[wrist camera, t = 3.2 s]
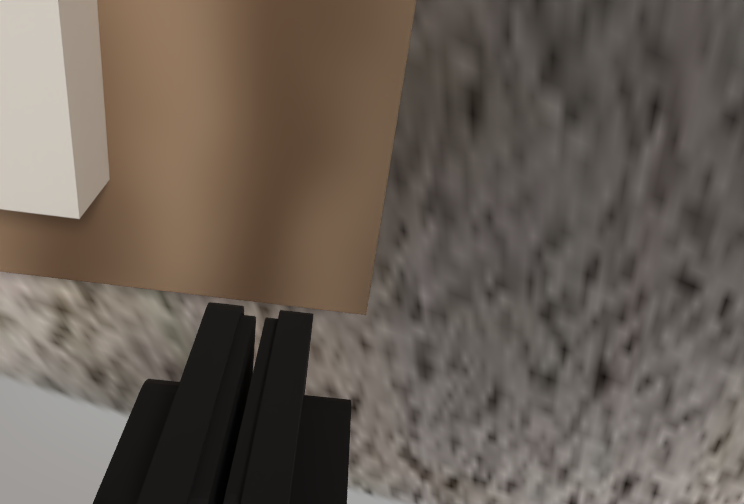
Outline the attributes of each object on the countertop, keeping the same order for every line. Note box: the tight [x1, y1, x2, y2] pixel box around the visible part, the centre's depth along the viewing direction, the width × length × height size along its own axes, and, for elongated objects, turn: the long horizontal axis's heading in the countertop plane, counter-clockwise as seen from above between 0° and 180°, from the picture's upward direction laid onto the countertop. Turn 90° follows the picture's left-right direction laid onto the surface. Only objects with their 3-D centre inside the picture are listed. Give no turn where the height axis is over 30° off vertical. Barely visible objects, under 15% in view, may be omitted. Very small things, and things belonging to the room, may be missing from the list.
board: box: [0, 0, 416, 315], centre depth 22 cm, size 20×14×4 cm
